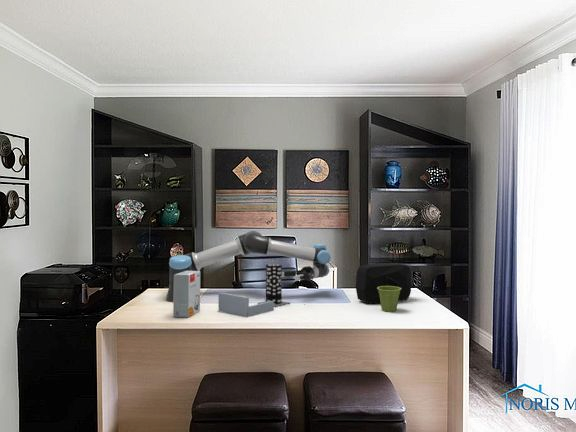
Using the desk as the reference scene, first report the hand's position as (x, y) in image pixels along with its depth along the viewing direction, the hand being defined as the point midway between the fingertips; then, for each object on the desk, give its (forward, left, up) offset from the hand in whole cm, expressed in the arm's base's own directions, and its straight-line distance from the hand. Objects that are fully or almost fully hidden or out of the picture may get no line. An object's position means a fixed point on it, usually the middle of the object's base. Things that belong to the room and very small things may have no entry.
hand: (285, 276), depth 274 cm
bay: (0, -30, -13) cm, 33 cm away
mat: (0, -10, -13) cm, 16 cm away
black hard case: (+41, +34, -13) cm, 55 cm away
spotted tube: (0, -10, -13) cm, 16 cm away
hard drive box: (-17, -54, -13) cm, 58 cm away
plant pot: (+53, +16, -13) cm, 57 cm away
